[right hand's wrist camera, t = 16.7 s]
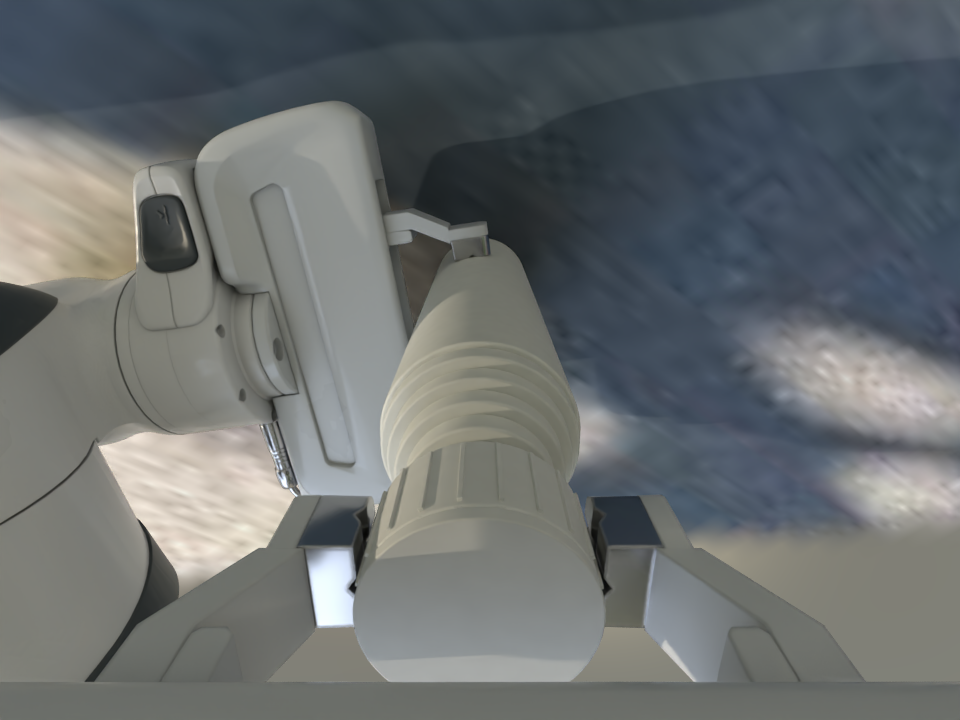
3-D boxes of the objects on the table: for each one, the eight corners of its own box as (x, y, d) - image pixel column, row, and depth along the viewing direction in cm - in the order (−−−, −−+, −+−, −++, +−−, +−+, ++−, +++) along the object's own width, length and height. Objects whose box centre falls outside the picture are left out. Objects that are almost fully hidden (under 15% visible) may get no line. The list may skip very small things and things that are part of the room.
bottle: (441, 328, 33) (347, 718, 10) (431, 241, 31) (287, 473, 8) (527, 321, 33) (636, 703, 10) (523, 233, 31) (644, 448, 8)
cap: (574, 607, 11) (596, 714, 9) (382, 605, 11) (358, 712, 9) (591, 438, 10) (621, 517, 8) (370, 436, 10) (338, 515, 8)
